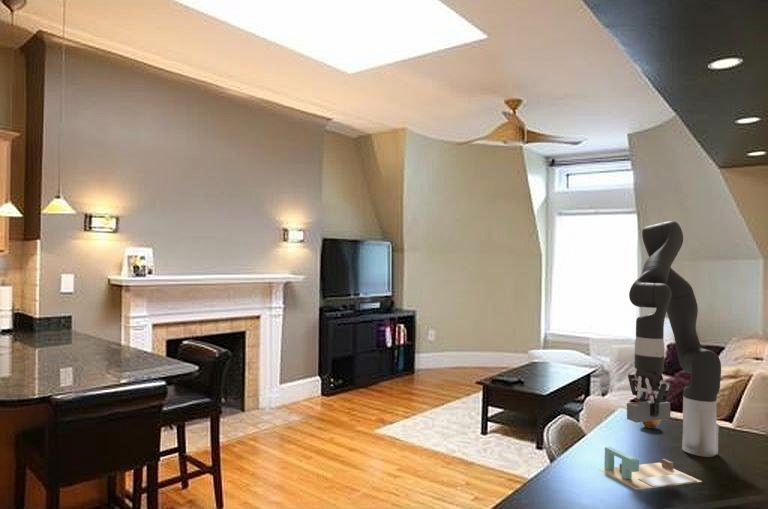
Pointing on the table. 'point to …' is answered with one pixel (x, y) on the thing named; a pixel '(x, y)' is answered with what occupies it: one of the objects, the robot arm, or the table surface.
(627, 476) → the green bracket
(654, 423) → the fruit
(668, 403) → the grey block
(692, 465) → the table surface
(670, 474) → the board
